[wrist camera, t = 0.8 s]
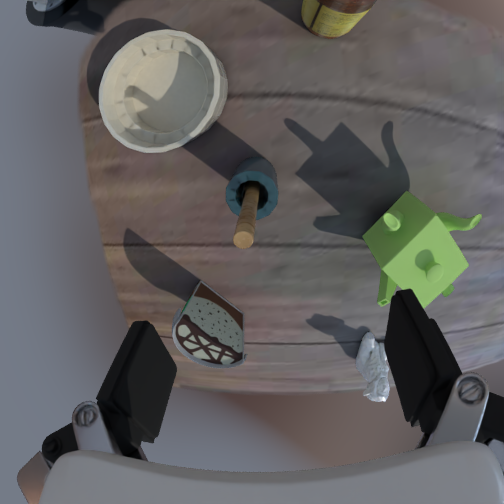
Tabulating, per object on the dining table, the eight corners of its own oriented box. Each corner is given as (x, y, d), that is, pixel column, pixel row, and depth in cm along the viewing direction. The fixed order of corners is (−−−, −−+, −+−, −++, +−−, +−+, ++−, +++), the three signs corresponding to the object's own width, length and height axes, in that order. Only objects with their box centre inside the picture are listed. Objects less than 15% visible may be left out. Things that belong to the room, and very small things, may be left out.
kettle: (357, 185, 34) (389, 218, 24) (443, 181, 32) (489, 210, 23) (355, 279, 41) (376, 330, 32) (432, 268, 39) (463, 310, 30)
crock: (235, 155, 33) (226, 169, 26) (277, 158, 33) (280, 173, 26) (234, 194, 36) (225, 218, 29) (274, 197, 36) (275, 221, 29)
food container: (171, 294, 45) (152, 337, 36) (193, 273, 43) (175, 317, 34) (226, 334, 49) (219, 379, 40) (250, 318, 46) (246, 364, 38)
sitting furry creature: (401, 340, 48) (419, 387, 38) (375, 366, 52) (387, 412, 42) (366, 329, 47) (382, 382, 36) (341, 358, 51) (350, 408, 40)
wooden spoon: (243, 180, 34) (222, 244, 20) (259, 167, 33) (250, 221, 19) (251, 188, 35) (236, 257, 20) (266, 175, 34) (264, 236, 19)
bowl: (125, 48, 26) (101, 42, 21) (231, 37, 26) (223, 24, 20) (123, 146, 33) (100, 155, 28) (225, 144, 33) (217, 152, 28)
